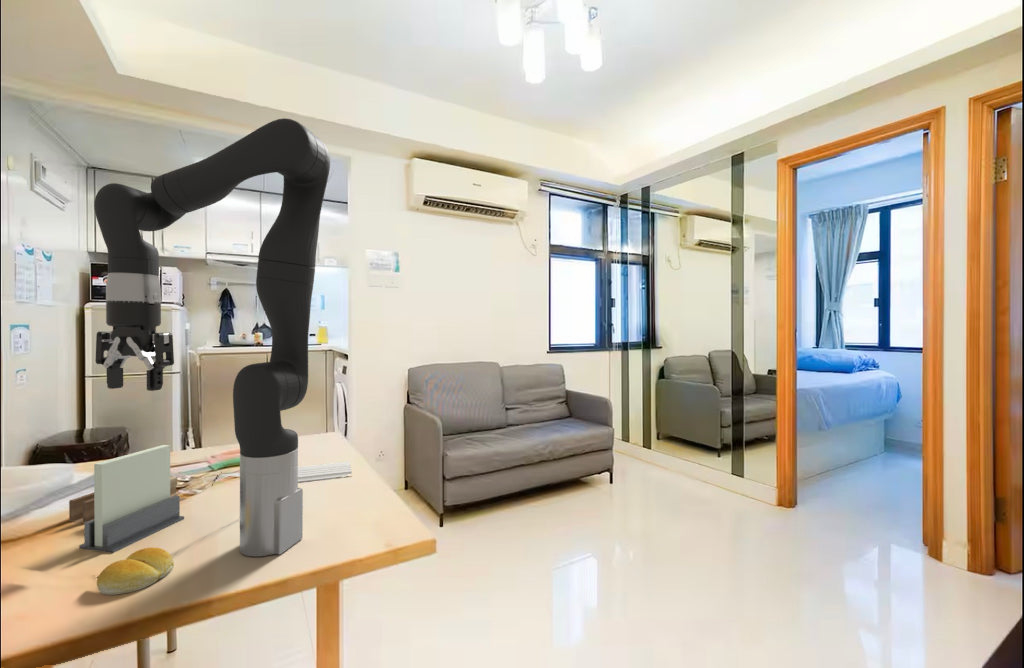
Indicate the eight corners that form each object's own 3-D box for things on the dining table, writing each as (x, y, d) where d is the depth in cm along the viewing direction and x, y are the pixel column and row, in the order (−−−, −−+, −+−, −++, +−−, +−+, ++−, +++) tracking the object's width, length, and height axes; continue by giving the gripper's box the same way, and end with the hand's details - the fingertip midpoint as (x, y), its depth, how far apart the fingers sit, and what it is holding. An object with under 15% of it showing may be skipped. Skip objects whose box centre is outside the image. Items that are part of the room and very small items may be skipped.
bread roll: (83, 593, 65) (83, 566, 65) (146, 561, 74) (146, 538, 74) (125, 602, 63) (124, 575, 63) (185, 569, 72) (185, 544, 72)
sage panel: (170, 516, 86) (170, 445, 86) (102, 546, 74) (101, 464, 74) (163, 515, 86) (163, 444, 86) (94, 545, 74) (94, 463, 74)
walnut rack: (186, 504, 96) (186, 480, 96) (118, 535, 82) (118, 506, 82) (141, 500, 98) (141, 475, 98) (67, 528, 84) (67, 500, 84)
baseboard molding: (352, 480, 114) (349, 466, 125) (352, 469, 114) (349, 456, 125) (210, 497, 102) (221, 480, 113) (210, 485, 102) (221, 469, 113)
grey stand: (184, 526, 86) (184, 496, 86) (113, 561, 73) (112, 526, 73) (154, 522, 87) (154, 493, 87) (79, 556, 74) (79, 522, 74)
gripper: (78, 298, 77) (79, 390, 77) (146, 298, 74) (146, 394, 75) (123, 301, 84) (124, 385, 84) (186, 301, 82) (186, 387, 82)
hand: (134, 389), depth 80 cm, fingers open, 8 cm apart
